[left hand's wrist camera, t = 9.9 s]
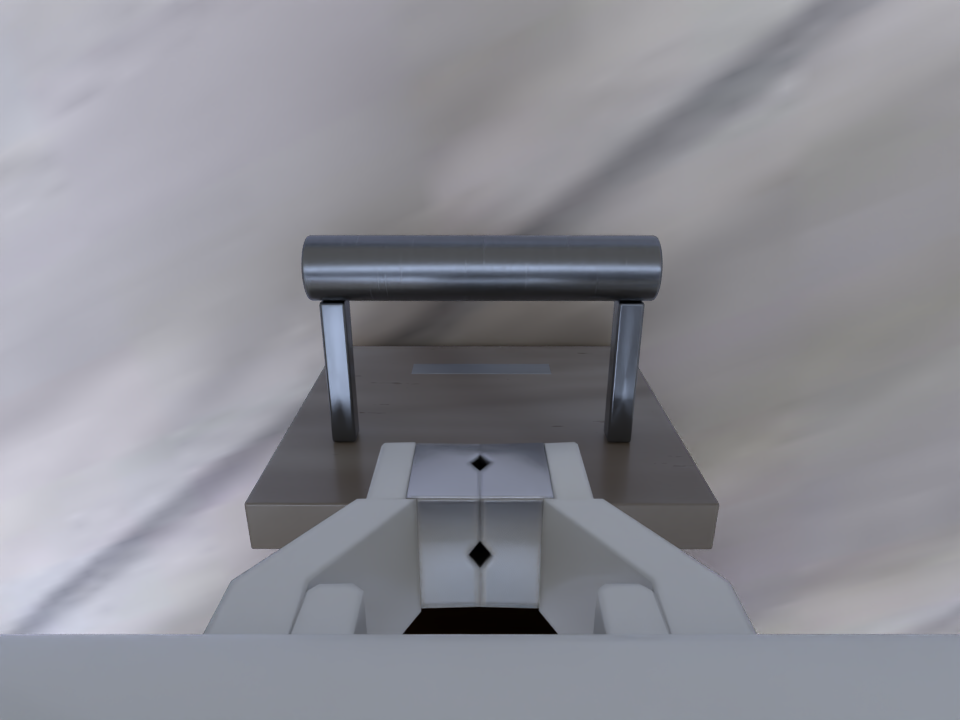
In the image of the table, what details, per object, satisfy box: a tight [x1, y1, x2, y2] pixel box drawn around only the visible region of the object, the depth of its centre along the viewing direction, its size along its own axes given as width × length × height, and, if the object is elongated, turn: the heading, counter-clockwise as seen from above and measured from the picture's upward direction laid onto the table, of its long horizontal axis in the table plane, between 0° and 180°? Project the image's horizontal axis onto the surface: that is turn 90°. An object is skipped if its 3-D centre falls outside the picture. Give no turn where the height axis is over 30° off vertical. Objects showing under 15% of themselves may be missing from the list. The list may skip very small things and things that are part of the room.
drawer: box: [245, 235, 719, 634], centre depth 21 cm, size 23×10×10 cm, turn 0°
